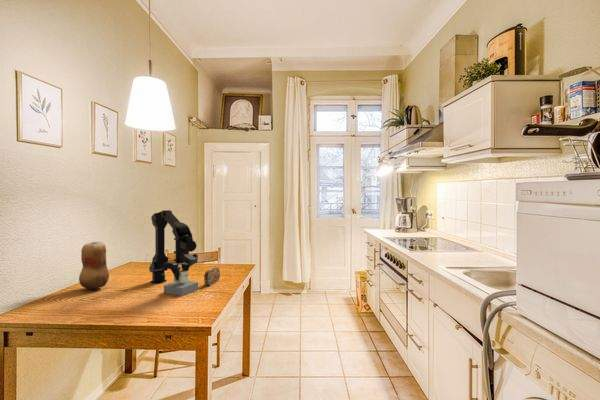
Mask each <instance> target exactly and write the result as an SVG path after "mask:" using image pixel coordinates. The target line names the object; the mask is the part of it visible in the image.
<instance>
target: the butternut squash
mask: <svg viewBox="0 0 600 400" xmlns="http://www.w3.org/2000/svg"><path fill="white" fill-rule="evenodd" d="M80 253H81V255H80V258H81V263H82V268H81V271H80V274H79V277H78V281H79V285H80V286H81V287H83V288H84V289H87V290H90V291H91V290H92V291H95V290H98V289H100V288H103V287H105V286H106V284H108V282H109V278H110V272H109V269H108V266H107V265H108V264H107V248H106V244H105V243H104V242H102V241H92V242H88V243H86V244H84V245H83V246H82V247H81V252H80Z"/></svg>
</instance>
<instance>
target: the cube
mask: <svg viewBox="0 0 600 400" xmlns="http://www.w3.org/2000/svg"><path fill="white" fill-rule="evenodd" d="M185 281H189V270H188V271H185V270H182V269H180V270H179V280H176V278H175V276H174V275H173V282H180V283H182V282H185Z"/></svg>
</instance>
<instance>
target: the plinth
mask: <svg viewBox="0 0 600 400" xmlns="http://www.w3.org/2000/svg"><path fill="white" fill-rule="evenodd" d="M198 290H199V282H198V281H193V280H188V281H185V282H182V283H180V282H174V281H172V282H169V283H167V284H164V285H163V293H164V294H168V295H174V296H179V297H183V296H186V295H188V294H191V293H193V292H196V291H198Z"/></svg>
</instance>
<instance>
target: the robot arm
mask: <svg viewBox="0 0 600 400" xmlns="http://www.w3.org/2000/svg"><path fill="white" fill-rule="evenodd" d="M150 217H151V218H150V219H151V224H152V226H153V227H154V230H155V247H154V248H155V249H154V250H155V254H154V256H153V257H152V261H151V264H150V265H149V267H148V269H149V272H150V273H151V274H152V275H151V277H152V278H151V279H152V280H150V281H149V282H150V283H153V284H161V283H164V282H167V279H166V274H165V272H166V271H168V270H170V271H171V273H172V274H173V277H174V276H175V278H176V280H179V270H185V271H188V272H189V270H190V267H192V266H193V265H195V264H196V263H198V261H199V256H198V255H199V254H197V253H194V254H190V252H191V253H192V252H194V251H195V250H196V249H197V242H196V241H195V240H194V238H193V233H192V232H191V229H190V227H189V226H188V224H186V223H184V222H181V221H180V220H179V219H178V218H177V217H176V216H175V214H173V212H172V210H170V209H166V210H164V209H163V210H161V211H159V212H155V213H153V214H152V215H151V216H150ZM168 225H169V226H170V227H171V228H172V234H173V235H174V238H173V240H174V241H175V242H174V243H175V246H174V247H175V249H174V251H173V254H175V256H174V257H175V258H174V259H173V261H169V257H168V256H167V255H166V254H165V252H166V251H165V250H166V249H165V241H166V240H165V238H166V237H165V235H166V234H165V231H166V230H165V229H166V227H167V226H168ZM180 266H181V267H180Z"/></svg>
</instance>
